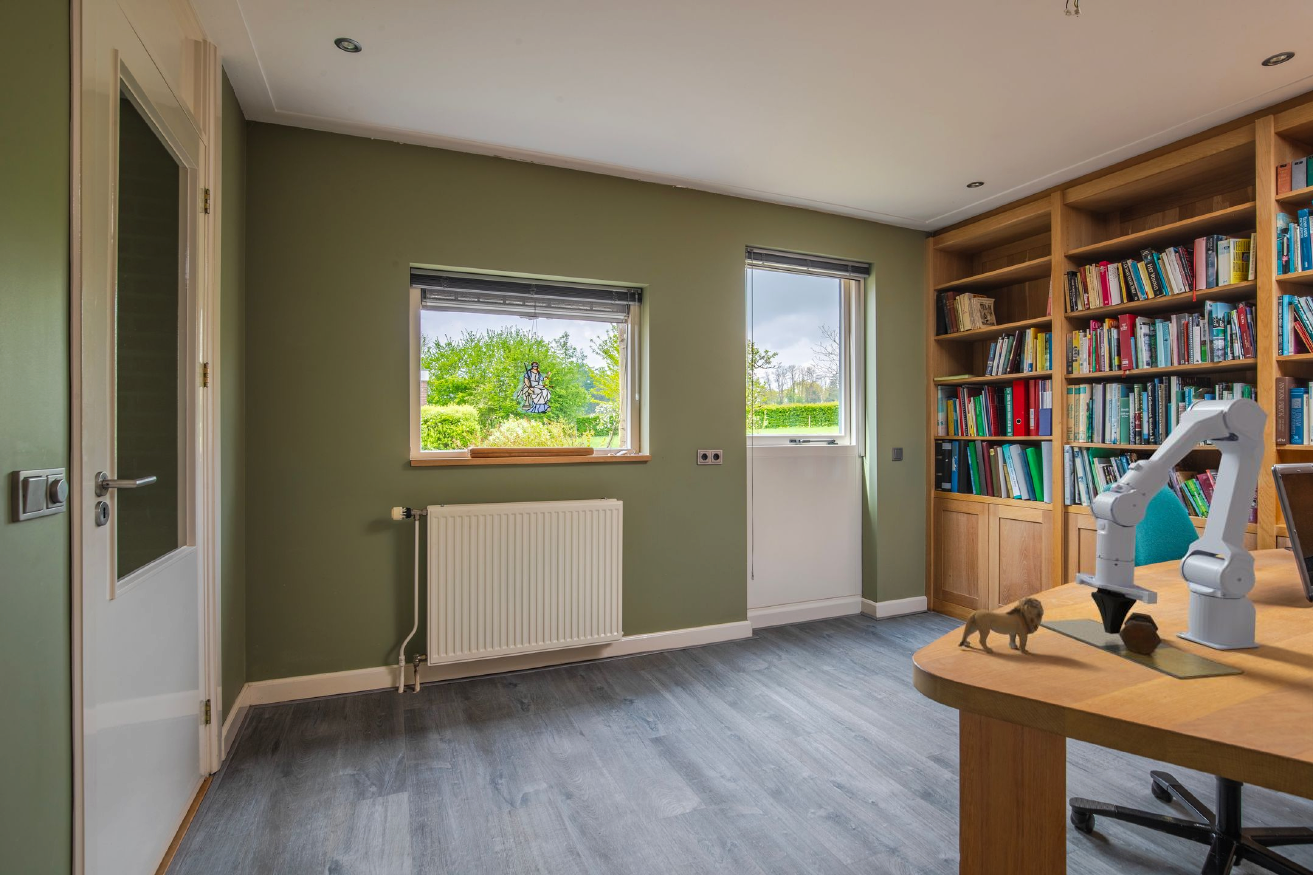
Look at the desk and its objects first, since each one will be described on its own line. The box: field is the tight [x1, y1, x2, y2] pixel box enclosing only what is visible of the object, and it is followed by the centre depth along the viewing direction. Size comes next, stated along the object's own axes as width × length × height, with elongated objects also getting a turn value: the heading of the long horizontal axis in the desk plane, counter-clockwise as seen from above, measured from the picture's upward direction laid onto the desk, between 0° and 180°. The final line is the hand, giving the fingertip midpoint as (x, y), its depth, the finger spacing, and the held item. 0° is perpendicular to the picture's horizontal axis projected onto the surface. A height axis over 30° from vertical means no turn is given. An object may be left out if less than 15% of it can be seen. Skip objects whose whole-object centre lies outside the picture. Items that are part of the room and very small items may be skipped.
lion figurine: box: [957, 596, 1045, 655], centre depth 112 cm, size 15×5×9 cm, turn 95°
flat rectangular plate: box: [1039, 618, 1245, 680], centre depth 115 cm, size 13×28×1 cm, turn 13°
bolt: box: [1119, 612, 1162, 655], centre depth 116 cm, size 6×5×15 cm
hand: (1112, 632), depth 118 cm, fingers closed
